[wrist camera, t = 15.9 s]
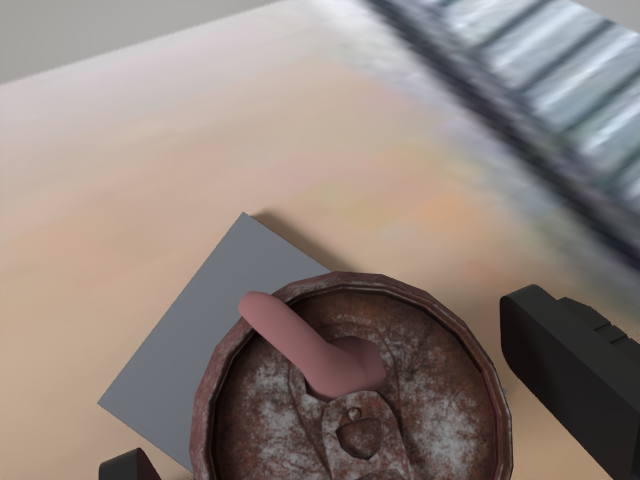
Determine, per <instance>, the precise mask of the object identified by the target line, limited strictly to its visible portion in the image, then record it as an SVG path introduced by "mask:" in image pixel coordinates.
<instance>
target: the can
mask: <svg viewBox="0 0 640 480" xmlns="http://www.w3.org/2000/svg"><path fill="white" fill-rule="evenodd" d="M238 309H239V313H240V315H241V318H240V319H239V320H238V321H237V322H236V324H235V325H234V326H233V327H232V328H231V329H230V331H229V332H228V333H227V334H226V335H225V336H224V338H223V339H222V340H221V341H220V342H219V343H218V345H217V346H216V347H215V349H214V351H213V354H212V356H211V358H210V361H209V363H208V365H207V368H206V370H205V372H204V375H203V377H202V379H201V382H200V384H199V386H198V389H197V391H196V393H195V396H194V405H193V414H192V424H191V433H190V442H189V455H190V460H191V465H192V470H193V475H194V480H510V479H511V475H512V471H513V443H512V419H511V413H510V410H509V407H508V404H507V401H506V398H505V395H504V392H503V389H502V387H501V384H500V381H499V378H498V375H497V372H496V369H495V367H494V364H493V362H492V361H491V359H490V358H489V356H488V355H487V354H486V352H485V351H484V349H483V348H482V346H481V345H480V343H479V342H478V341H477V339H476V338H475V336H474V335H473V333H472V332H471V331H470V329H469V328H468V326H467V325H466V323H465V322H464V321H463V320H461V319H460V318H459V317H458V316H456V315H455V314H454V313H453V312H451V311H450V310H449V309H448V308H446V307H445V306H444V305H443V304H441V303H440V302H439V301H438V300H436V299H435V298H434V297H433V296H431V295H430V294H429V293H427V292H426V291H423V290H421V289H418V288H416V287H413V286H411V285H408V284H406V283H403V282H400V281H398V280H395V279H393V278H390V277H388V276H385V275H383V274H368V273H353V272H338V271H335V272H331V273H327V274H323V275H319V276H315V277H311V278H307V279H303V280H299V281H295V282H291V283H289V284H287V285H285V286H284V287H282V288H281V289H279V290H277V291H276V292H274V293H273V294H271V295H269V294H267V293H265V292H257V291H251V292H248V293H246V294H245V295H244V296H243V297H242V298H241V300H240V302H239V306H238Z"/></svg>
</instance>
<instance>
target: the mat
mask: <svg viewBox="0 0 640 480" xmlns="http://www.w3.org/2000/svg"><path fill="white" fill-rule="evenodd" d="M327 273H331V271H330V270H328V269H327V268H325V267H324V266H322V265H321V264H319V263H318V262H317V261H315V260H314V259H312V258H311V257H309V256H308V255H306V254H305V253H303V252H302V251H300V250H299V249H297V248H296V247H294V246H293V245H292V244H290V243H289V242H287V241H286V240H284V239H283V238H281V237H280V236H278V235H277V234H275V233H274V232H272V231H271V230H269V229H268V228H267V227H265V226H264V225H262V224H261V223H259V222H258V221H256V220H255V219H253V218H252V217H250V216H249V215H247V214H246V213H245V212H242V214H241V215H240V216H239V218H238V219H237V220H236V222H235V223H234V224H233V225H232V227H231V228H230V229H229V231H228V232H227V233H226V235H225V236H224V237H223V239H222V240H221V241H220V242H219V244H218V245H217V246H216V248H215V249H214V250H213V252H212V253H211V254H210V256H209V257H208V258H207V260H206V261H205V262H204V263H203V265H202V266H201V267H200V269H199V270H198V271H197V273H196V274H195V275H194V277H193V278H192V279H191V280H190V282H189V283H188V284H187V286H186V287H185V288H184V290H183V291H182V292H181V294H180V295H179V296H178V297H177V299H176V300H175V301H174V303H173V304H172V305H171V307H170V308H169V309H168V311H167V312H166V313H165V315H164V316H163V317H162V318H161V320H160V321H159V322H158V324H157V325H156V326H155V328H154V329H153V330H152V332H151V333H150V334H149V335H148V337H147V338H146V339H145V341H144V342H143V343H142V345H141V346H140V347H139V349H138V350H137V351H136V352H135V354H134V355H133V356H132V358H131V359H130V360H129V362H128V363H127V364H126V366H125V367H124V368H123V370H122V371H121V372H120V373H119V375H118V376H117V377H116V379H115V380H114V381H113V383H112V384H111V385H110V387H109V388H108V389H107V390H106V392H105V393H104V394H103V396H102V397H101V398H100V400H99V401H98V402H97V404H99V405H100V406H101V407H103V408H104V409H105V410H107V411H108V412H110V413H111V414H112V415H114V416H115V417H116V418H118V419H119V420H121V421H122V422H123V423H125V424H126V425H127V426H129V427H130V428H131V429H133V430H134V431H136V432H137V433H138V434H140V435H141V436H142V437H144V438H145V439H147V440H148V441H149V442H151V443H152V444H153V445H155V446H156V447H158V448H159V449H160V450H162V451H163V452H164V453H166V454H167V455H168V456H170V457H171V458H173V459H174V460H175V461H177V462H178V463H179V464H181V465H182V466H184V467H185V468H186V469H188V470H189V471H190V472H192V473H193V470H192V465H191V460H190V455H189V442H190V433H191V424H192V414H193V405H194V396H195V393H196V391H197V389H198V386H199V384H200V382H201V379H202V377H203V375H204V372H205V370H206V368H207V365H208V363H209V361H210V358H211V356H212V354H213V351H214V349H215V347H216V346H217V345H218V343H219V342H220V341H221V340H222V339H223V338H224V336H225V335H226V334H227V333H228V332H229V331H230V329H231V328H232V327H233V326H234V325H235V324H236V322H237V321H238V320H239V319H240V318H241V315H240V313H239V309H238V306H239V302H240V300H241V298H242V297H243V296H244V295H245V294H246V293H248V292H251V291H257V292H265V293H267V294H269V295H271V294H273V293H274V292H276V291H277V290H279V289H281V288H282V287H284V286H285V285H287V284H289V283H291V282H295V281H299V280H303V279H307V278H311V277H315V276H319V275H323V274H327ZM502 389H503V388H502ZM503 392H504V395H505V393H506V390H505V389H503Z"/></svg>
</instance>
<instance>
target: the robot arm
mask: <svg viewBox="0 0 640 480" xmlns="http://www.w3.org/2000/svg"><path fill="white" fill-rule="evenodd" d="M500 330H501V348H502V352H503V355H504V358H505V360H506V362H507V364H508V366H509V367H510V369H511V370H512V371H513V373H514V374H515V375H516V376H517V377H518V378H519V379H520V380H521V381H522V382H523V383H524V384H525V386H526V387H527V388H528V389H529V390H530V391H531V392H532V393H533V394H534V395H535V396H536V397H537V398H538V399H539V401H540V402H541V403H542V404H543V405H544V406H545V407H546V408H547V409H548V410H549V411H550V412H551V413H552V414H553V416H554V417H555V418H556V419H557V420H558V421H559V422H560V423H561V424H562V425H563V426H564V427H565V428H566V429H567V430H568V432H569V433H570V434H571V435H572V436H573V437H574V438H575V439H576V440H577V441H578V442H579V443H580V444H581V445H582V447H583V448H584V449H585V450H586V451H587V452H588V453H589V454H590V455H591V456H592V457H593V458H594V459H595V460H596V462H597V463H598V464H599V465H600V466H601V467H602V468H603V469H604V470H605V471H606V472H607V473H608V474H609V475H610V477H611V478H612V479H613V480H640V344H638V343H637V342H636V341H635V340H633V339H632V338H630V339H629V338H628V337H627V334H625V333H624V332H623V331H621V330H620V329H619V328H618V327H616V326H615V325H614V326H612V325H611V322H610V321H608V320H607V319H606V318H604V317H603V316H602V315H601V314H599V313H598V312H597V311H595V310H594V309H593V308H591V307H590V306H587V305H585V304H582V303H579V302H577V301H574V300H572V299H569V298H567V297H564V298H561V299H559V300H556V299H555V298H553V297H552V296H551V295H550V294H548V293H547V292H546V291H545V290H543V289H542V288H541V287H539V286H537V285H534V284H532V285H529V286H527V287H524V288H522V289H520V290H517V291H515V292H512V293H510V294H508V295H505V296H503V297H502V298H501V299H500ZM99 480H161V478H160V476H159V475H158V473H157V472H156V470H155V468H154V467H153V465H152V464H151V462H150V460H149V459H148V457H147V456H146V454H145V452H144V451H143V450H142V449H141V448H136V449H134V450H132V451H129V452H127V453H124V454H122V455H120V456H117V457H115V458H113V459H110V460H108V461H105V462H103V463H101V464H100V467H99Z"/></svg>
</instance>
